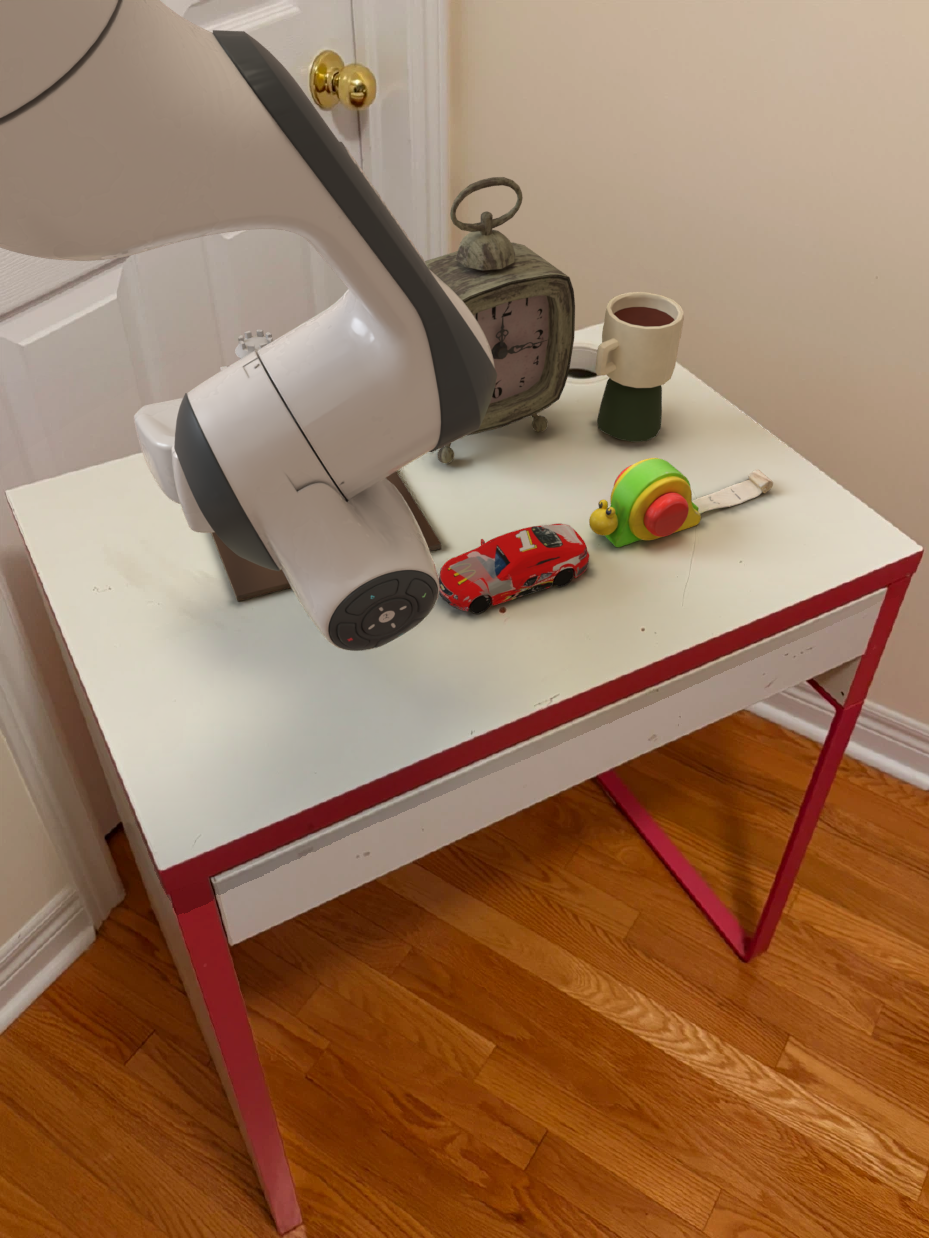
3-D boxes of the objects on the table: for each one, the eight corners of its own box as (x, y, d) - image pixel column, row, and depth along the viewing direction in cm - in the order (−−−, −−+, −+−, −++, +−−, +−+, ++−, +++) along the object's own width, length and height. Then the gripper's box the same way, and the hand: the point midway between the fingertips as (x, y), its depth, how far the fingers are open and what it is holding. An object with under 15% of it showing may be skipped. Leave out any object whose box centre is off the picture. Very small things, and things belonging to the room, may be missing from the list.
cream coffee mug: (641, 396, 109) (658, 278, 100) (691, 427, 105) (714, 307, 96) (563, 432, 104) (574, 311, 95) (613, 466, 100) (629, 343, 91)
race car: (453, 624, 84) (453, 587, 82) (427, 582, 88) (426, 546, 85) (596, 579, 88) (601, 543, 85) (566, 541, 92) (569, 505, 89)
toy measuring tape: (569, 526, 93) (575, 465, 89) (743, 468, 100) (757, 409, 95) (608, 568, 89) (617, 507, 85) (787, 505, 96) (804, 445, 91)
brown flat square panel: (237, 602, 86) (236, 595, 85) (190, 479, 98) (189, 473, 97) (441, 548, 91) (441, 542, 90) (373, 438, 103) (372, 432, 102)
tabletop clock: (437, 478, 98) (435, 215, 81) (392, 430, 104) (381, 175, 86) (565, 435, 104) (589, 180, 86) (516, 392, 109) (529, 144, 92)
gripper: (450, 395, 72) (383, 305, 81) (149, 461, 66) (114, 356, 75) (450, 471, 76) (387, 377, 85) (168, 538, 70) (132, 430, 80)
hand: (257, 368), depth 80 cm, fingers closed on rook chess piece, 3 cm apart
